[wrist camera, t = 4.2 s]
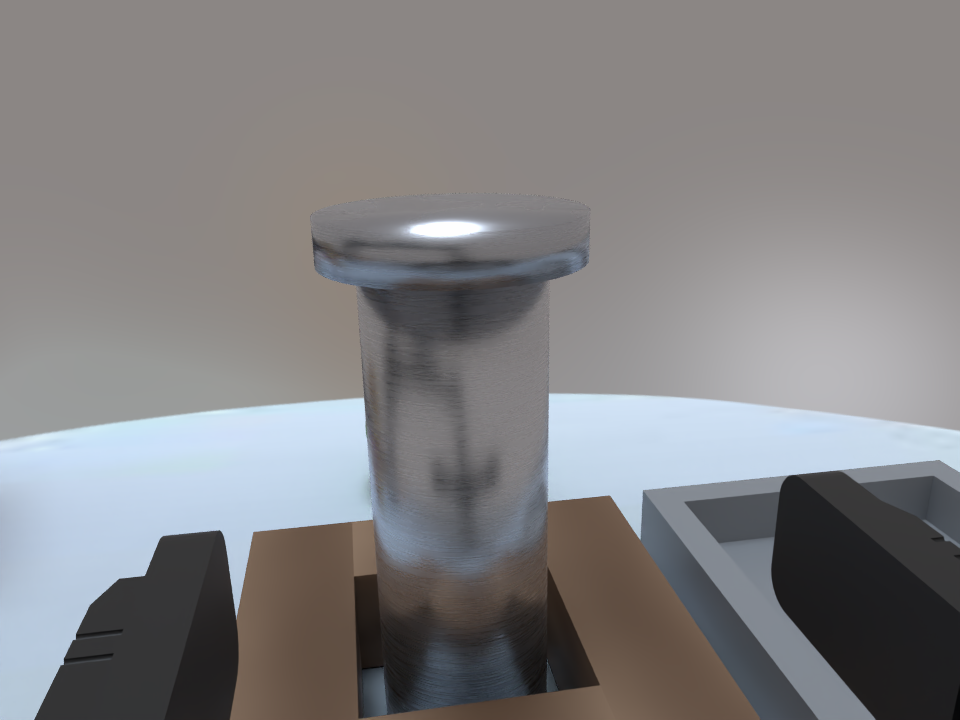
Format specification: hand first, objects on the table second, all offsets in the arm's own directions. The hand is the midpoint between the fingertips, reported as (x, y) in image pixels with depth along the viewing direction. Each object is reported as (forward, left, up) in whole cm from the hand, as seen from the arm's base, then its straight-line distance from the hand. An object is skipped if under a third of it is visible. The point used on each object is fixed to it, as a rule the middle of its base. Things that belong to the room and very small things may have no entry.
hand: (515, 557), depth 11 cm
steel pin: (0, +7, -9) cm, 11 cm away
